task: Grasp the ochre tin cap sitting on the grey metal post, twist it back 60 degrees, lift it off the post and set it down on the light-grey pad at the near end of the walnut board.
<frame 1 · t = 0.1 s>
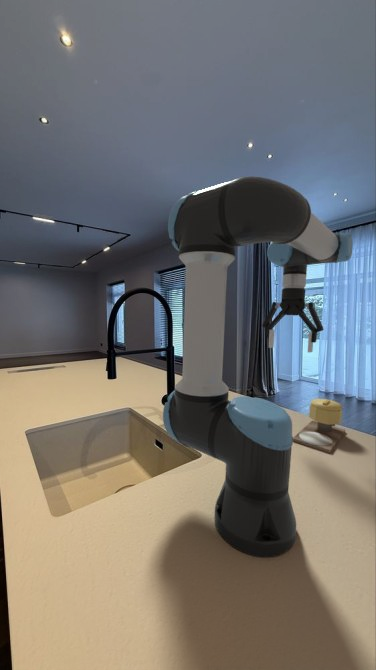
hand: (289, 349, 98), 28 cm above the counter, fingers open, 13 cm apart
cap: (325, 418, 97), point 5 cm above the counter, touching post board
post board: (319, 436, 93), on the counter
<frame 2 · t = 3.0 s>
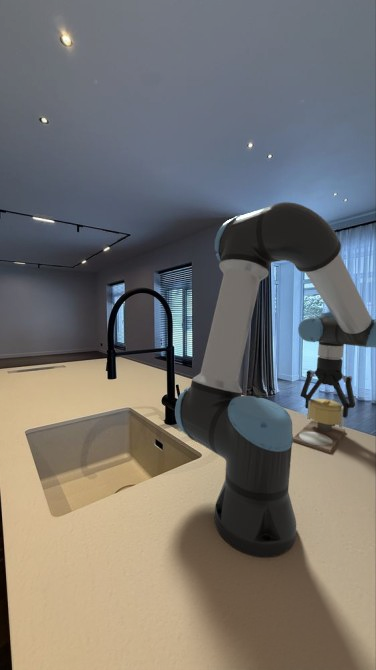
hand: (324, 421, 97), 4 cm above the counter, fingers closed on cap, 9 cm apart
cap: (325, 418, 97), point 5 cm above the counter, touching gripper, post board
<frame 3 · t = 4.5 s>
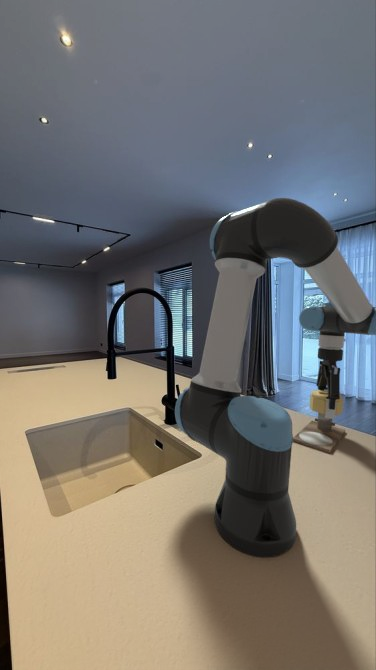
hand: (325, 412, 96), 7 cm above the counter, fingers closed on cap, 9 cm apart
cap: (325, 410, 96), point 8 cm above the counter, touching gripper
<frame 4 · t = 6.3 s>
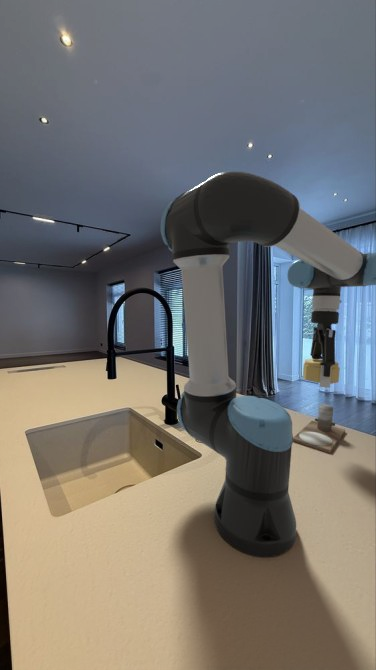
hand: (319, 382, 88), 19 cm above the counter, fingers closed on cap, 9 cm apart
cap: (320, 379, 87), point 20 cm above the counter, touching gripper
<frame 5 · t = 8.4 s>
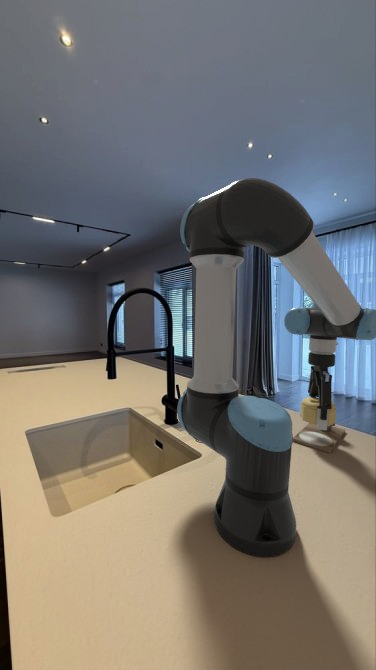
hand: (316, 422, 89), 6 cm above the counter, fingers closed on cap, 9 cm apart
cap: (317, 419, 89), point 7 cm above the counter, touching gripper
when the fingers open (2 cm above the counter, at t = 9.9 s): cap drops 2 cm, resting on post board.
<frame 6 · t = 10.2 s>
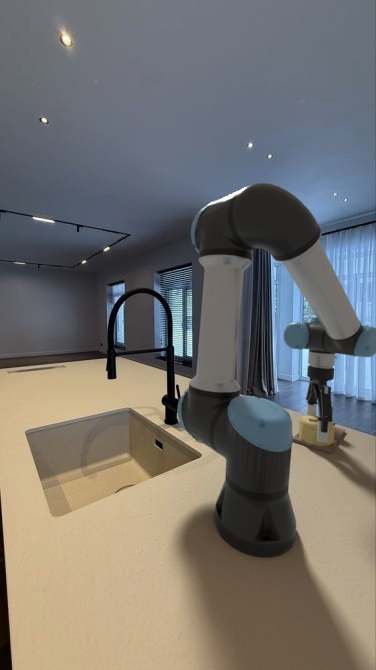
hand: (315, 432, 89), 3 cm above the counter, fingers open, 13 cm apart
cap: (315, 438, 89), point 1 cm above the counter, touching post board
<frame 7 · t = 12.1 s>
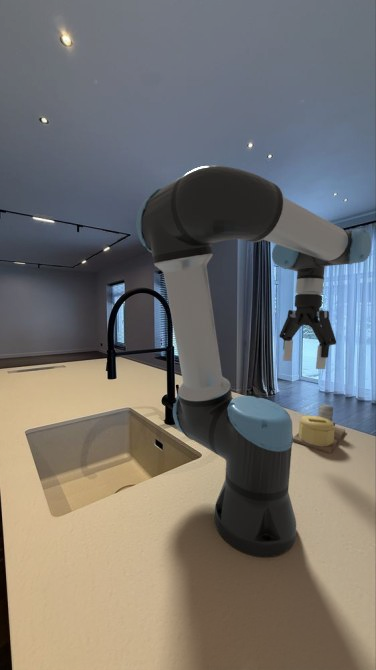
hand: (302, 364, 86), 25 cm above the counter, fingers open, 13 cm apart
nothing on the counter moved.
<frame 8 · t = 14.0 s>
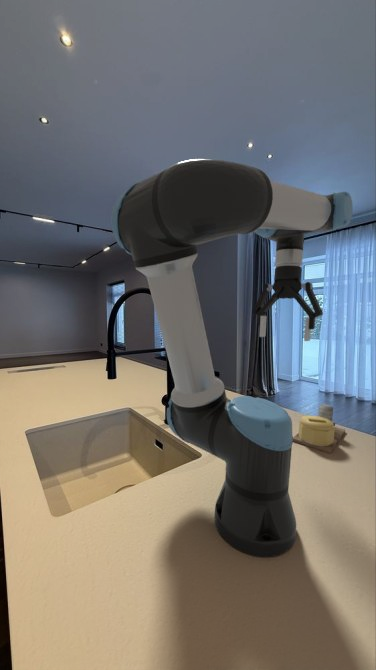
hand: (283, 338, 84), 33 cm above the counter, fingers open, 13 cm apart
nothing on the counter moved.
at the end: cap inside the target area on the post board (0.3 cm from its centre), point 1.2 cm above the post board's base; cap tilted 0°; the gripper is holding nothing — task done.
